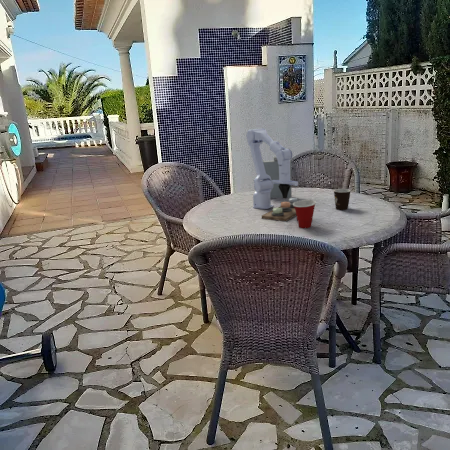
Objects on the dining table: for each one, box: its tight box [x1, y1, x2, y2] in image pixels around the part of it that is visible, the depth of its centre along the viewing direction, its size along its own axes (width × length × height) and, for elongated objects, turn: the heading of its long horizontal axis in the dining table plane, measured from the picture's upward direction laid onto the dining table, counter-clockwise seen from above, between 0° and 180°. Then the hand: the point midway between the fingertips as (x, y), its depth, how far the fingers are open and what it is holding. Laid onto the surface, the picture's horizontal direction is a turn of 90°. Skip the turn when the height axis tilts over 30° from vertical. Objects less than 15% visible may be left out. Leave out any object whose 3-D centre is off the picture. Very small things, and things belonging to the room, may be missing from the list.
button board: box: [261, 203, 297, 222], centre depth 226 cm, size 14×27×2 cm, turn 145°
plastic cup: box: [293, 199, 317, 229], centre depth 200 cm, size 11×11×12 cm
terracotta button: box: [280, 201, 291, 208], centre depth 225 cm, size 5×5×2 cm
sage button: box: [272, 207, 282, 214], centre depth 218 cm, size 5×5×2 cm
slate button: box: [288, 197, 299, 204], centre depth 232 cm, size 5×5×2 cm
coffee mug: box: [333, 188, 352, 211], centre depth 228 cm, size 12×9×10 cm
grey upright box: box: [263, 156, 293, 199], centre depth 260 cm, size 17×5×25 cm, turn 81°
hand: (285, 198), depth 224 cm, fingers closed
